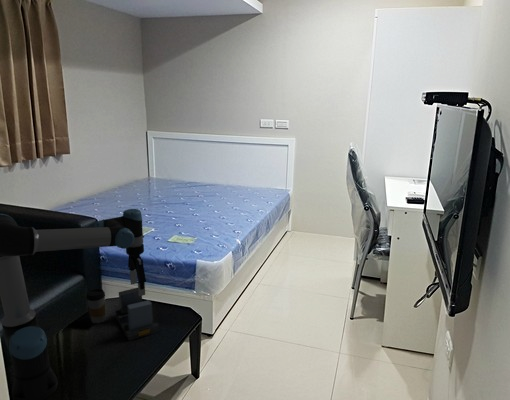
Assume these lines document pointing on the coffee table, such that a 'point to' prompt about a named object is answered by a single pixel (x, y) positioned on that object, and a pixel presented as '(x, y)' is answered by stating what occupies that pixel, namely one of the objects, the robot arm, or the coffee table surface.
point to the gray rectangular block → (139, 315)
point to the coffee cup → (96, 305)
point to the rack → (122, 315)
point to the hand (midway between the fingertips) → (137, 289)
